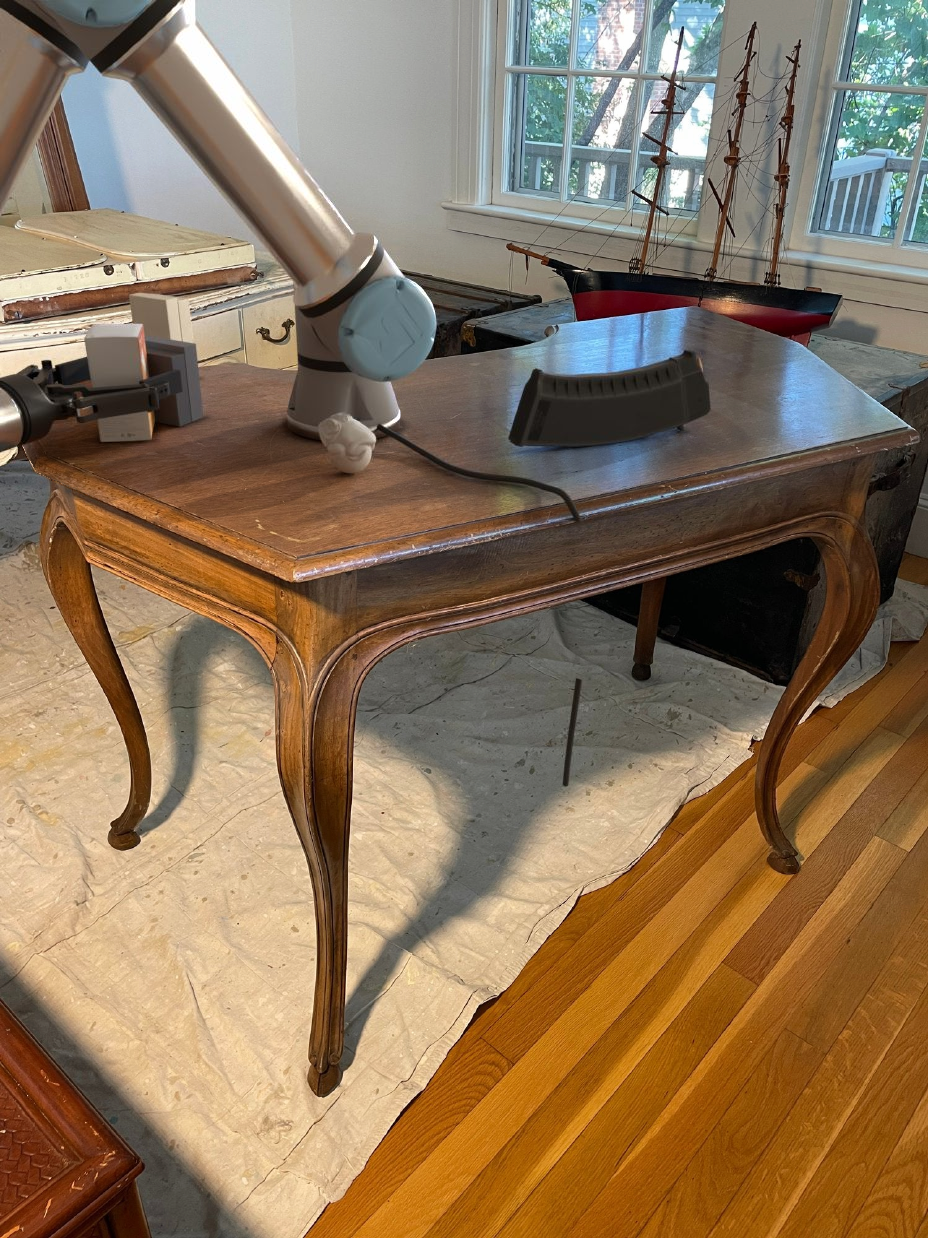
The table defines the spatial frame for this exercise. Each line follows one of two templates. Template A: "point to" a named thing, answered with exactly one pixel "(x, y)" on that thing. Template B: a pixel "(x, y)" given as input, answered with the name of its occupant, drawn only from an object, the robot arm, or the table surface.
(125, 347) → the small box
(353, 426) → the plaster face bust
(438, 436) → the table surface
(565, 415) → the magazine
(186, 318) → the beige rectangular block
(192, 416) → the grey books
